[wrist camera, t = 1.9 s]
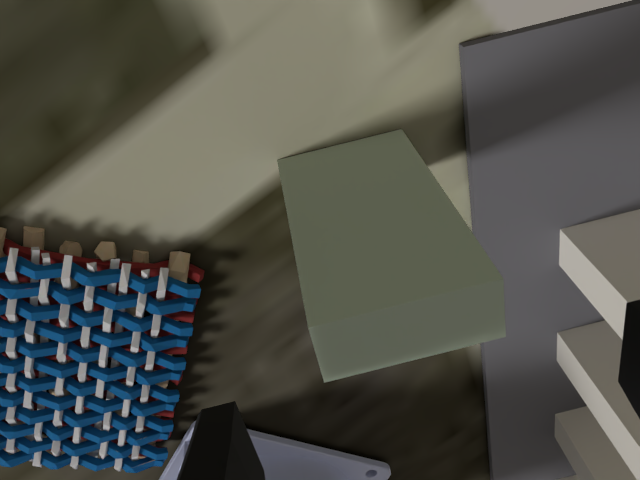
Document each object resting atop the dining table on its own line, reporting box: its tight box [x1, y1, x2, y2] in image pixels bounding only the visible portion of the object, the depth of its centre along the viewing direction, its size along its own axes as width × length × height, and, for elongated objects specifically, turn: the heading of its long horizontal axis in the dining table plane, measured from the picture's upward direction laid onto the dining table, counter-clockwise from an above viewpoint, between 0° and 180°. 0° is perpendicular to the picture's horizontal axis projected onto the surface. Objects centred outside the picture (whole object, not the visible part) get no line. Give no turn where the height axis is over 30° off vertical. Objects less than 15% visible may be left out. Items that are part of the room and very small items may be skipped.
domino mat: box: [459, 0, 640, 480], centre depth 24 cm, size 26×10×1 cm, turn 12°
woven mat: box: [0, 226, 205, 473], centre depth 21 cm, size 10×11×2 cm
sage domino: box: [277, 129, 506, 383], centre depth 16 cm, size 2×4×8 cm, turn 101°
